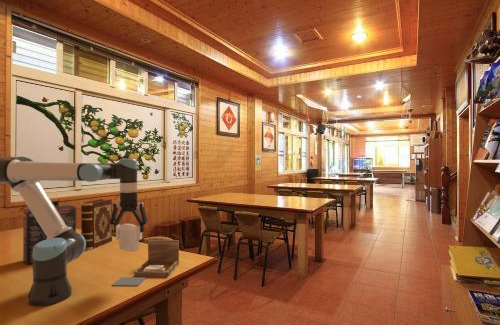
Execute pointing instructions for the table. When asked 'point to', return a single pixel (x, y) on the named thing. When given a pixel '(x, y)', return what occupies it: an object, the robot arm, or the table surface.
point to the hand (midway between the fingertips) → (129, 239)
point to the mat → (129, 281)
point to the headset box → (36, 233)
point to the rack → (160, 257)
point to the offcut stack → (154, 268)
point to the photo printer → (128, 238)
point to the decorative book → (96, 222)
